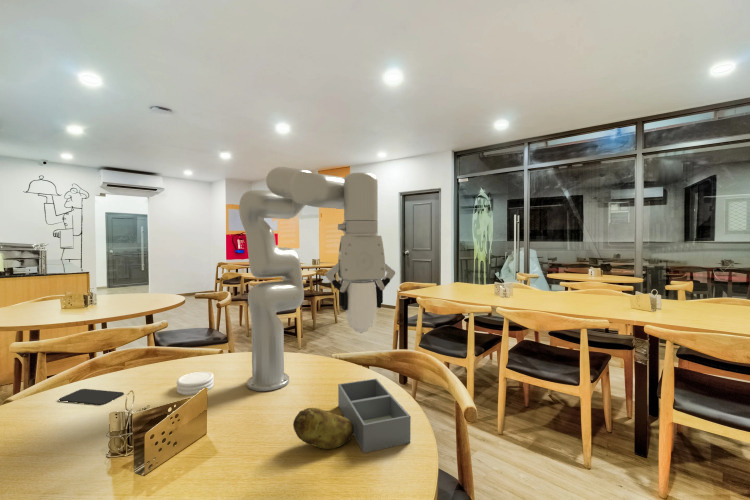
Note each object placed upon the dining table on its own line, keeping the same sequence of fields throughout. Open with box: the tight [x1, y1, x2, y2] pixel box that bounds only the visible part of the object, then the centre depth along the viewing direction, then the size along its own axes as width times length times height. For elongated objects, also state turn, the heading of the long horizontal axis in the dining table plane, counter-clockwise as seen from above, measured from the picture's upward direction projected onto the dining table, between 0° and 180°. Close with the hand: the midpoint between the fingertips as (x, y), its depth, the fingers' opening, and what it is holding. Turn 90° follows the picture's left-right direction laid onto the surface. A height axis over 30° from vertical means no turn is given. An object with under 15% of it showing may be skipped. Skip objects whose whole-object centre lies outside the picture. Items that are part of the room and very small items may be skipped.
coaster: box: [176, 371, 215, 396], centre depth 107 cm, size 10×10×4 cm
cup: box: [345, 280, 378, 334], centre depth 79 cm, size 7×7×21 cm
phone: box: [58, 388, 125, 406], centre depth 100 cm, size 7×1×15 cm
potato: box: [292, 407, 354, 450], centre depth 77 cm, size 8×13×8 cm, turn 87°
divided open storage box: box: [337, 378, 412, 454], centre depth 87 cm, size 22×11×6 cm, turn 20°
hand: (361, 307), depth 79 cm, fingers closed on cup, 7 cm apart
